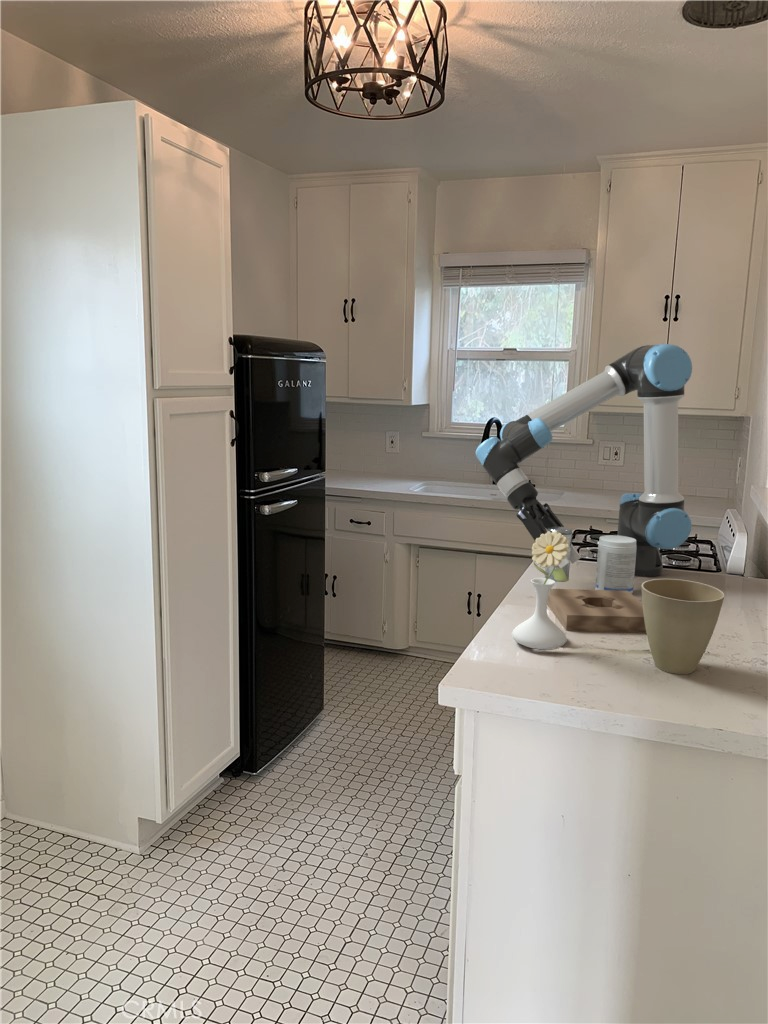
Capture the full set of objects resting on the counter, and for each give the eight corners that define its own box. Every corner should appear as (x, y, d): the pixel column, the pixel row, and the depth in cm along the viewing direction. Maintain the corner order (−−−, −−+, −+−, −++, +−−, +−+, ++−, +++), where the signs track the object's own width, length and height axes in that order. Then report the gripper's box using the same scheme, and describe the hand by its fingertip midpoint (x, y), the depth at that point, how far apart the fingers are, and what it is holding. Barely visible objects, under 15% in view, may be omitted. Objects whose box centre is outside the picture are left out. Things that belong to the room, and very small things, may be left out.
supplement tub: (640, 595, 193) (645, 540, 190) (616, 600, 188) (621, 544, 185) (610, 585, 201) (615, 533, 198) (586, 590, 196) (591, 536, 193)
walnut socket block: (626, 608, 182) (627, 590, 181) (656, 636, 162) (658, 617, 161) (545, 606, 181) (546, 588, 180) (565, 634, 162) (567, 615, 161)
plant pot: (636, 648, 155) (644, 574, 152) (714, 660, 149) (723, 584, 146) (630, 673, 141) (638, 593, 138) (715, 688, 136) (726, 605, 133)
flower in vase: (500, 638, 158) (507, 524, 154) (545, 632, 163) (553, 521, 158) (536, 660, 147) (545, 537, 142) (582, 653, 151) (592, 534, 146)
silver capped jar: (568, 576, 190) (571, 527, 188) (569, 582, 185) (572, 531, 182) (544, 574, 192) (547, 525, 189) (544, 580, 186) (547, 530, 184)
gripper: (525, 494, 202) (576, 564, 195) (489, 502, 187) (543, 578, 180) (545, 477, 197) (597, 548, 190) (509, 484, 183) (564, 561, 176)
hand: (571, 562), depth 185 cm, fingers closed on silver capped jar, 6 cm apart
